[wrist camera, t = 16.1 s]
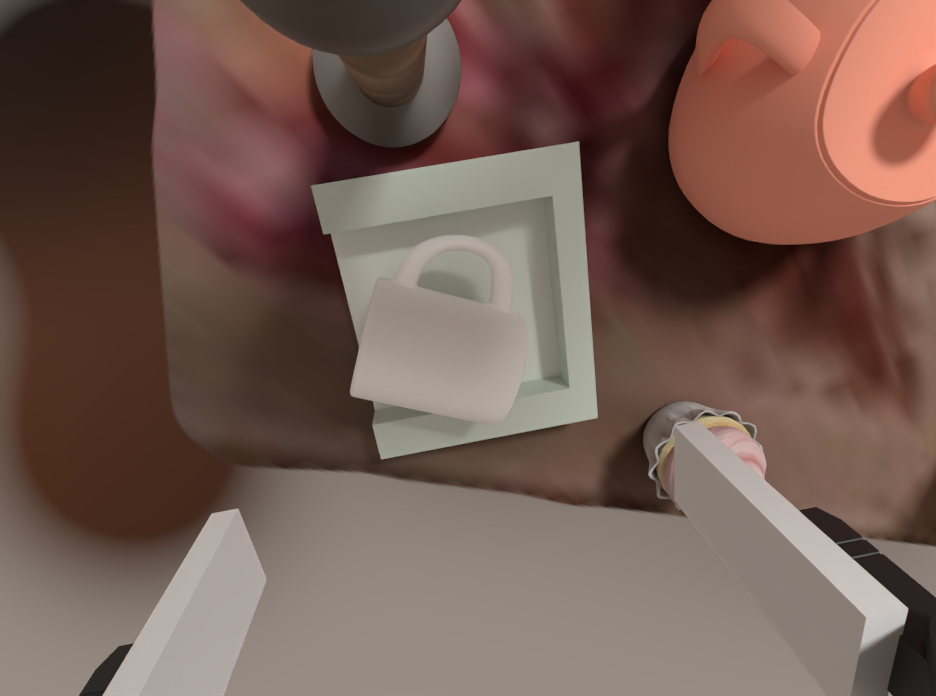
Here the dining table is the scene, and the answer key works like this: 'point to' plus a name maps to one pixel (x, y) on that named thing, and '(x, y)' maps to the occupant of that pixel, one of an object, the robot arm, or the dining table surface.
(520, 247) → the notched board
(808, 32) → the teapot
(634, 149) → the dining table surface
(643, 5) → the dining table surface
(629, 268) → the dining table surface
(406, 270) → the mug
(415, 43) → the bobbin
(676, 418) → the cupcake
